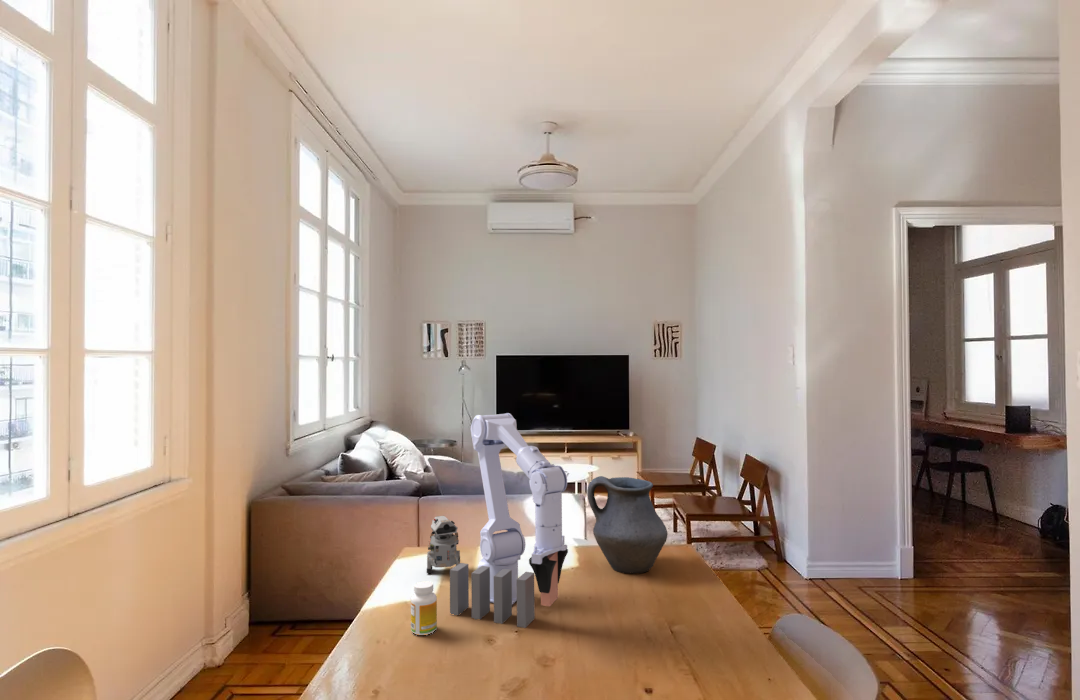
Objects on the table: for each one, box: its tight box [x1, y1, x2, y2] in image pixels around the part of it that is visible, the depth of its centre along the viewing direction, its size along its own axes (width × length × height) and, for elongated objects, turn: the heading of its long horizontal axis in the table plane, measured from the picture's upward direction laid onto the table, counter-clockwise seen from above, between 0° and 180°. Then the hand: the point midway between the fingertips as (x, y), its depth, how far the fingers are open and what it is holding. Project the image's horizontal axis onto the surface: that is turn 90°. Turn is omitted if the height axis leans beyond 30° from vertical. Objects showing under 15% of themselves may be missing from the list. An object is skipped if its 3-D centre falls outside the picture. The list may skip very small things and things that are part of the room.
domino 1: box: [449, 562, 470, 616], centre depth 135 cm, size 2×5×10 cm, turn 158°
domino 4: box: [516, 571, 536, 629], centre depth 129 cm, size 2×5×10 cm, turn 158°
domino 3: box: [493, 569, 513, 625], centre depth 131 cm, size 2×5×10 cm, turn 158°
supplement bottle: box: [410, 580, 438, 635], centre depth 125 cm, size 5×5×10 cm
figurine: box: [426, 515, 461, 574], centre depth 159 cm, size 9×12×15 cm
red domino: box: [540, 552, 559, 607], centre depth 127 cm, size 2×5×10 cm, turn 158°
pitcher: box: [586, 475, 669, 574], centre depth 163 cm, size 21×22×25 cm
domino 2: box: [470, 566, 491, 620], centre depth 133 cm, size 2×5×10 cm, turn 158°
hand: (549, 587), depth 127 cm, fingers closed on red domino, 5 cm apart
